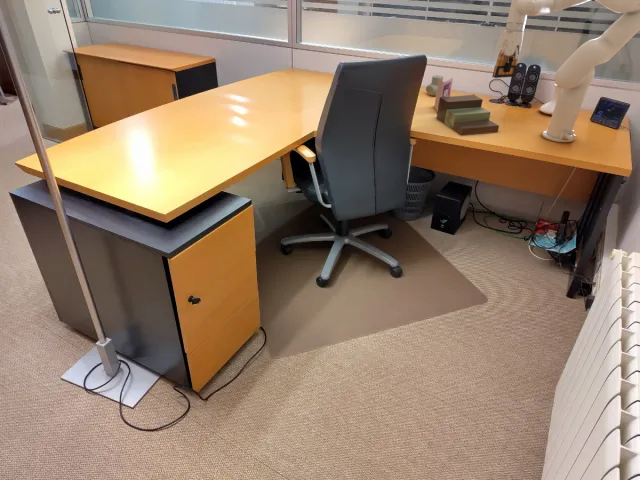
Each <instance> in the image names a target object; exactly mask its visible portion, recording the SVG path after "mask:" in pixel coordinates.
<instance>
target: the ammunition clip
mask: <svg viewBox="0 0 640 480" xmlns="http://www.w3.org/2000/svg"><path fill="white" fill-rule="evenodd" d="M504 50H505V49H504ZM501 55H502V57H501ZM519 55H520V54H519ZM519 55H518V57H519ZM504 57H505V58H504ZM507 57H508V56H506V55H504V51H503V53H502V49H501V50H500V52H498V56H497V59H496V63H495V65H494V68H493V73H492V76H491V77H492V78H494V79H498V78H499V79H500V78H515V77H516V73H517V68H518V62H519V58H518V59H516V60H514V61H513V63H512V65H511V69H510V72H503V70H504V66H505V63H506V61H507ZM510 58H511V57H510Z"/></svg>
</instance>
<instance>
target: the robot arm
mask: <svg viewBox="0 0 640 480" xmlns="http://www.w3.org/2000/svg"><path fill="white" fill-rule="evenodd" d="M590 1H592V0H511V3H510V7H509V12H508V16H507V21H506V24H505V29H504V30H503V32H502V34H501V38H500V42H499V45H498V50H497V52H498V53H499V52H500V50H501V49H502V53H503V51H504V55H506V56H508V57H507V61H506V63H505V66H504V70H503V72H510V69H511V65H512V63H513V61H514V60H516V59H518V60H519V56H518V55H520V54H521V49H522V45H523V41H524V40H523V38H524V30H525V26H526V23H527V19H528V17H537V16H546V15H549V14H552V13H556V12H559V11H562V10H566V9H569V8H572V7H575V6H578V5H581V4H584V3H588V2H590ZM594 1H595V2H596V3H598V4H600V5H601V6H603V7H604V8H606V9H608V10H609V11H611V12H614V13H616V14H622V15H621V16H620V17H618V19H616V20H615V21H614V22H613V23H612V24H611V25H610V26H609V27H608V28H607V29H606V30H605V31H604V32H603V33H602V34H601V35H600V36H598V37H597V38H593V39H589V40H587V41H585V42H583V44H581V45H580V46H579V47H577V49H576V50H575V51H574V52H573V53H572V54H571V55H570V56H569V57H568V58H567V59H566V60H565V61H564V63H562V65H560V67H559V68H558V69H557V71H556V72H555V75H554V82H555V83H554V84H556V85H557V86H558V87H559V88H561V91H560V93H559V96H558V99H557V102H556V105H555V108H554V111H553V114H552V115H551V118H550V121H549V124H548V128H547V130H544V131H542V132H541V133H542V134H541V136H542V137H543V138H545V140H546V139H547V140H549V141H552V142H556V143H557V142H558V143H570V142H573V141H575V139H577V138H578V136H577V135H576V134H575V130H574V127H575V125H576V122H577V119H578V116H579V114H580V111H581V108H582V104H583V103H584V99H585V97H586V94H587V92H588V89H589V87H590V86H591V84H592V82H593V79H594V77H595V73H596V71H595V67H596V66H599V65H603V64H605V63H607V62H609V61H610V60H611V59H612V58H613V57H614V56H615V55H616V54H617V53H618V52H619V51H620V50H621V49H622V48H623V47H624V46H625V45H626V44H627V43H628V42H629V41H630V40H631V39H632V38H633V37H634V36H635V35H636V34H637V33H638V32H639V31H640V0H594ZM504 49H505V50H504ZM501 57H502V55H501ZM510 57H511V58H510ZM504 58H505V57H504Z"/></svg>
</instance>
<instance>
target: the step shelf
mask: <svg viewBox="0 0 640 480" xmlns="http://www.w3.org/2000/svg"><path fill="white" fill-rule="evenodd" d="M483 100H484V99H483V98H481V97H479V96H477V95H475V94H467V95H465V94H464V95H452V96H451V95H450V97H440V100H439V106H438V112H437V111H436V112H437V113H436V119H437V120H439V121H440V122H441V123H443V124H444V125H446V126H447V127H449V128H451V129H452V130H453V131H455V132H456V133H458V134H459V135H461V136H467V135H468V136H469V135H479V134H489V133H490V134H491V133H498V131H499V127H500V125H499V124H497V123H496V122H494V121H492V120H490V117H491V113H492V112H491V111H490V110H487V109H485V108H484V107H482V105H483Z"/></svg>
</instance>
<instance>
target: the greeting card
mask: <svg viewBox="0 0 640 480" xmlns="http://www.w3.org/2000/svg"><path fill="white" fill-rule="evenodd" d="M453 80H454V78H453V77H452V78H450V79H448V80H445V81H444V80H443V81H442V80H441V78H440V77H439V80H438V86H437V93H436V96H435V99H434V106H433V107H434V109H435V110H436V112H438V106H439V100H440V97H450V96H451V92H452V86H453Z"/></svg>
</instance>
